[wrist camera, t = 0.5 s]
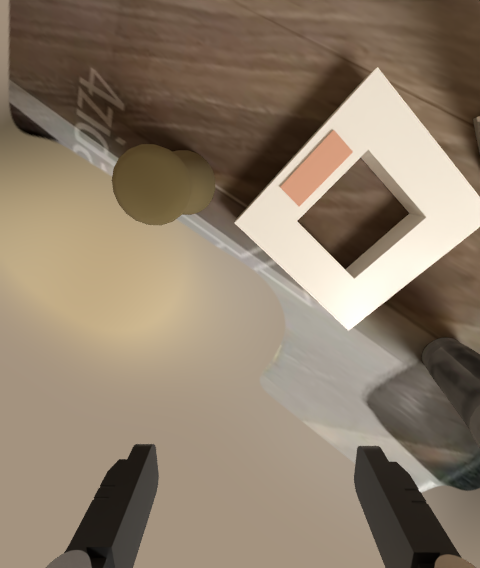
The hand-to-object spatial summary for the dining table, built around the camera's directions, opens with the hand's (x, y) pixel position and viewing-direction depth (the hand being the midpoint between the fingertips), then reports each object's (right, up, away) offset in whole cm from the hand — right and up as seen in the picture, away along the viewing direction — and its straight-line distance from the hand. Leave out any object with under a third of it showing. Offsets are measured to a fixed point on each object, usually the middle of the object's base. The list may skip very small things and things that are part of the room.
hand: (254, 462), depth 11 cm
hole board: (+10, +14, +17) cm, 24 cm away
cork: (-6, +17, +17) cm, 25 cm away
